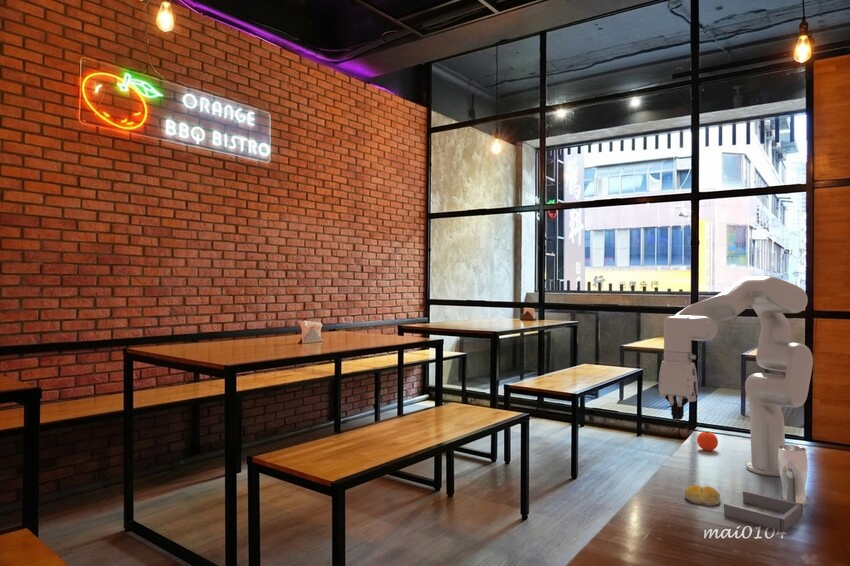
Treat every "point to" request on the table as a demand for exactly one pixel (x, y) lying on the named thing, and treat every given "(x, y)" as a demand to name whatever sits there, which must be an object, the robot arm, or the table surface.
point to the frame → (779, 523)
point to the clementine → (707, 441)
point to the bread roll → (702, 495)
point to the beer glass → (793, 472)
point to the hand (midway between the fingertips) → (677, 418)
